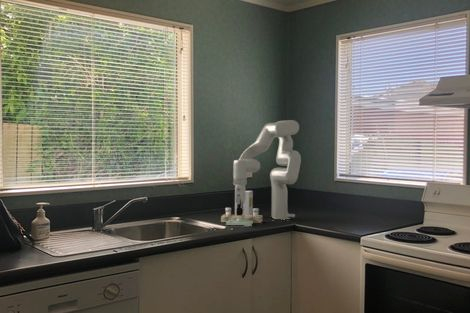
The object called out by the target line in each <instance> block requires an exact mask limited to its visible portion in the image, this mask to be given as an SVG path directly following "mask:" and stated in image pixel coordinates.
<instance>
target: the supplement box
mask: <svg viewBox="0 0 470 313" xmlns="http://www.w3.org/2000/svg"><path fill="white" fill-rule="evenodd" d="M253 192H254V191H253V190H245V194H246V201H245V202H244V203H243V214H242V215H253V206H254V205H253V204H254V203H253V202H254V200H253V198H254V196H253V195H254V193H253ZM236 210H237V202H235V201H234V215H237V214H236Z"/></svg>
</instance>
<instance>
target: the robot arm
mask: <svg viewBox="0 0 470 313" xmlns="http://www.w3.org/2000/svg"><path fill="white" fill-rule="evenodd" d="M299 130H300V124H299V123H298V121H296V120H293V119H289V120H277V121H276V122H269V123H266V124H265V125H264V126H263V127H262V129H261V131H260V133H259V135H258V136H257V138H256V139H255V141H254V142H253V143H252V144H251V145H250V146H249V147H247V148H246V149H245V150H244V151H243V152H242V154H241V155H240V157H239V159H235V160H233V164H232V166H233V167H232V169H233V172H232V174H233V175H232V177H233V178H232V179H233V180H232V181H233V182H232V184H233V185H234V203H235V202H237V210H236V214H237V215H242V214H243V211H242V208H243V203H244V202H245V201H246V194H245V191H246V185H247V183H248V182H247V181H248V180H247V179H248V176H247V175H248V173H256V172H259V170H260V169H261V163H260V161H259V160H257V159H255V157H256V156H258V155H260V154H263V153H264V152H266V151H268V149H269V148H270V146H271V144H272V142H273V141H274V139H275V138H278V147H277V151H276V152H277V153H276V156H275V157H276V158H275V162H276V164H277V165H278V166H281V167H274V168H273V169H272V170H271V171H270V173H269V179H270V183H271V217H272V218H274V219H281V220H282V219H283V220H285V219H290V220H291V218H295V217H296V214H295V213H294V214H293V213H289V212H288V194H289V192H288V187H287V185H294V184H295V183H296V182H297V181H298V177H299V173H300V167H301V163H302V157H301V154H300V153H299V151H297V150H293V147H294V140H293V138H292V136H294V135H296V134H297V133H298V132H299Z"/></svg>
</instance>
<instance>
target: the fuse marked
mask: <svg viewBox="0 0 470 313" xmlns="http://www.w3.org/2000/svg"><path fill="white" fill-rule="evenodd" d="M242 211H243V208H242ZM237 222H243V219H242V215H237Z"/></svg>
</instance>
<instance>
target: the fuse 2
mask: <svg viewBox="0 0 470 313" xmlns="http://www.w3.org/2000/svg"><path fill="white" fill-rule="evenodd" d="M259 211H260V209H259V208H257V207H256V208H255V207H254V208H253V217H258V215H259Z"/></svg>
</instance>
